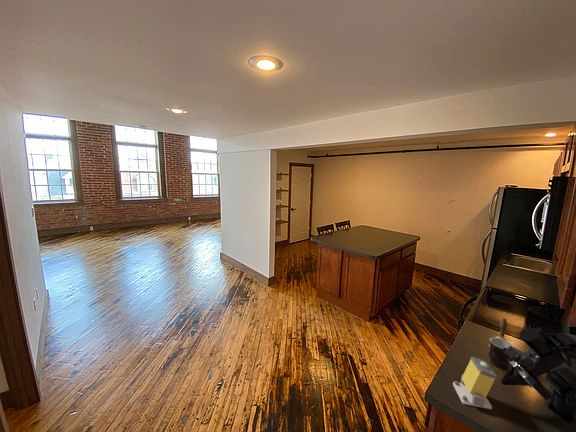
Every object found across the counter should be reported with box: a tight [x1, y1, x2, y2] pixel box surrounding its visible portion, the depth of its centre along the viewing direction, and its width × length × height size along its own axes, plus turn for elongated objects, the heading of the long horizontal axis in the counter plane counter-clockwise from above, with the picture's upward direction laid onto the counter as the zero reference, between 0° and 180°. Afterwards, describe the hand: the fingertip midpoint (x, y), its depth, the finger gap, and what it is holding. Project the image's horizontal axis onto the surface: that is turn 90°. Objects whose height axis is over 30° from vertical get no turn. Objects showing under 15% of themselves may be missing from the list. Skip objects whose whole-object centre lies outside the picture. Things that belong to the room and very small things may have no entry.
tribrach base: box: [452, 374, 493, 410], centre depth 94 cm, size 9×11×4 cm
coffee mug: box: [488, 337, 516, 371], centre depth 110 cm, size 12×9×10 cm
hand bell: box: [488, 317, 508, 348], centre depth 119 cm, size 8×8×16 cm
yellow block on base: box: [462, 356, 498, 399], centre depth 92 cm, size 5×8×13 cm, turn 166°
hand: (502, 383), depth 91 cm, fingers closed
